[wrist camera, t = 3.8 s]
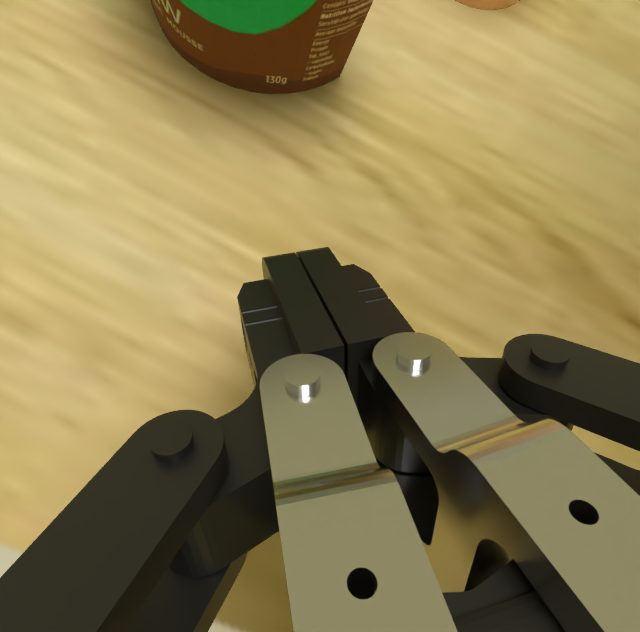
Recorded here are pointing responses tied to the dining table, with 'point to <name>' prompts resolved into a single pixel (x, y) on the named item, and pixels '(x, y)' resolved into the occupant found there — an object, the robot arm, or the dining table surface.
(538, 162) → the dining table surface
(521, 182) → the dining table surface
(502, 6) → the peach rounded cylinder
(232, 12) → the food container
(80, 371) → the dining table surface
